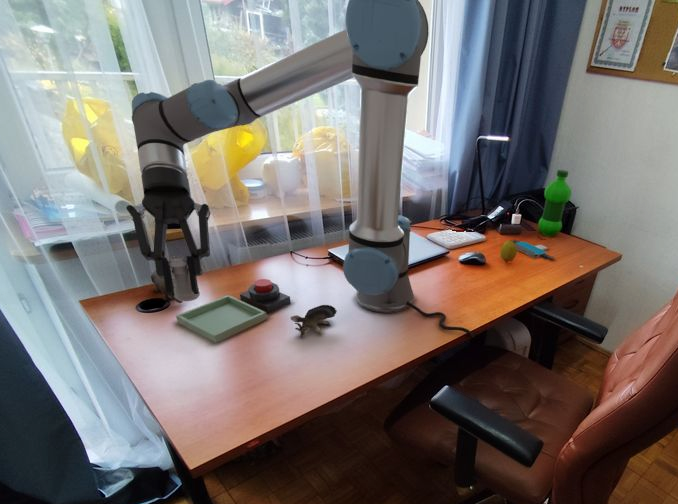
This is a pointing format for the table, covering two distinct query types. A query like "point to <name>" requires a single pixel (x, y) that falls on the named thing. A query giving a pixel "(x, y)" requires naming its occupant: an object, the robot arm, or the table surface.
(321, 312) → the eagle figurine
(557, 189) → the plastic bottle
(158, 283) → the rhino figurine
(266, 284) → the button
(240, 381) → the table surface
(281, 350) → the table surface
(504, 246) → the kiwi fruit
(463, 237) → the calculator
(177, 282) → the rook chess piece
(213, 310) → the green tray
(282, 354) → the table surface
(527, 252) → the blue usb hub
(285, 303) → the control box
